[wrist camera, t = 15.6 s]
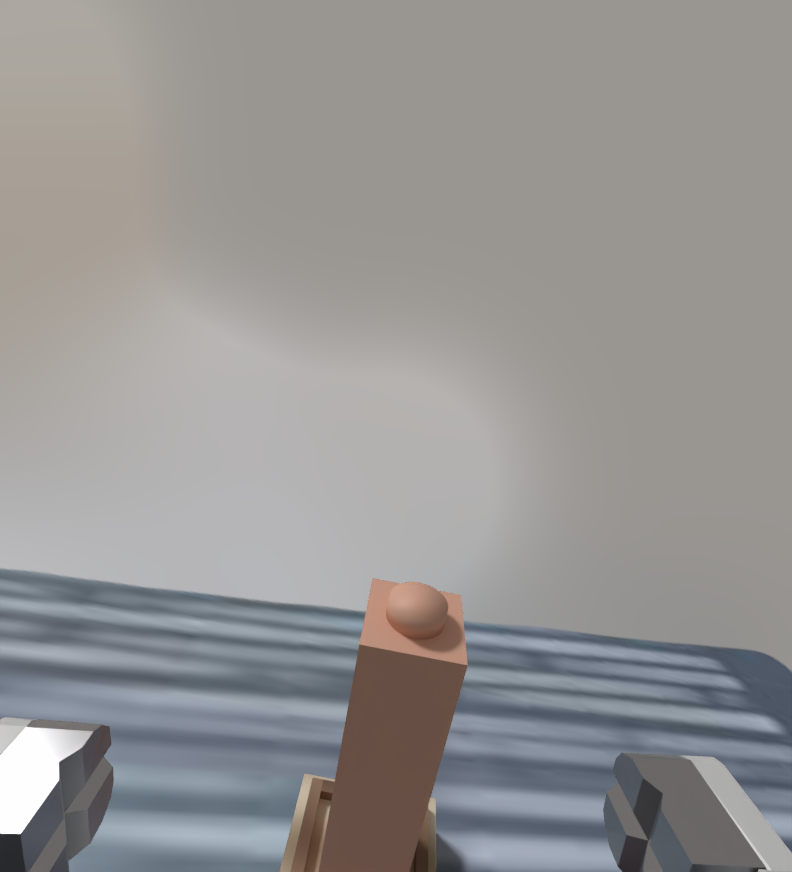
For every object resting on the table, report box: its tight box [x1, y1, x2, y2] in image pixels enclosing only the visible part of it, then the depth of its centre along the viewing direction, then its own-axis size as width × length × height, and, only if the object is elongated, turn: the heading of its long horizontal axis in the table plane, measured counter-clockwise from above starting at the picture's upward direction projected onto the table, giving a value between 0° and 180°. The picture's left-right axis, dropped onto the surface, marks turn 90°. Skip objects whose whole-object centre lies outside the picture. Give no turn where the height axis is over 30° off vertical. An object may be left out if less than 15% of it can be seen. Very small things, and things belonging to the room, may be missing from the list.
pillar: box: [318, 579, 467, 872], centre depth 26 cm, size 5×5×21 cm
